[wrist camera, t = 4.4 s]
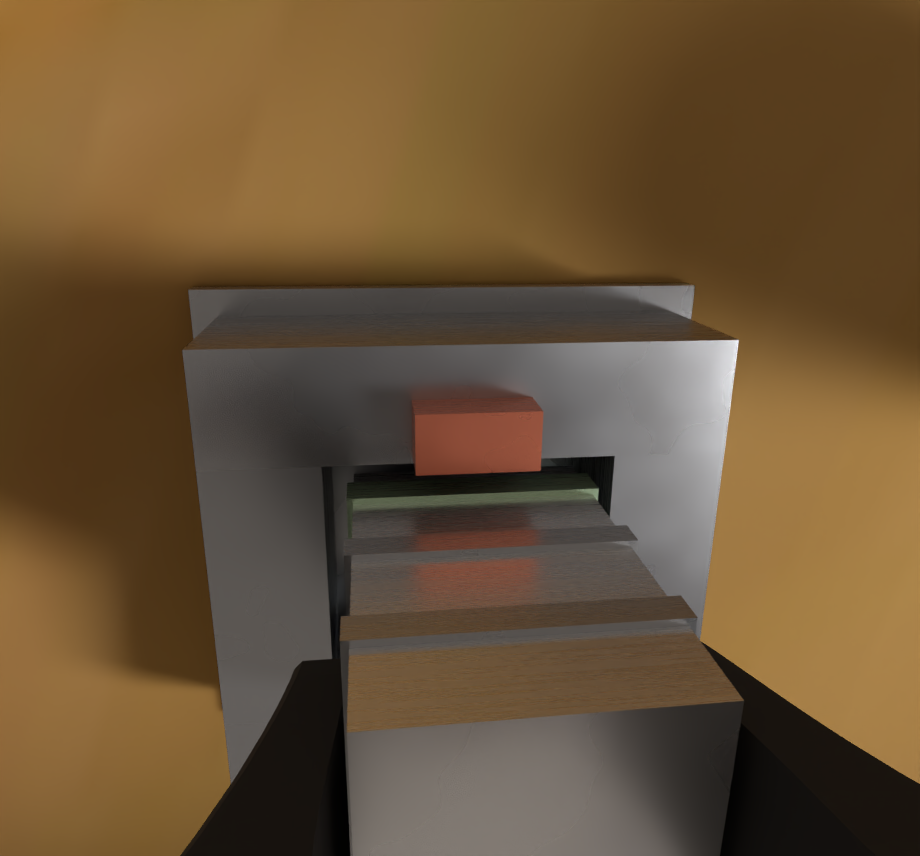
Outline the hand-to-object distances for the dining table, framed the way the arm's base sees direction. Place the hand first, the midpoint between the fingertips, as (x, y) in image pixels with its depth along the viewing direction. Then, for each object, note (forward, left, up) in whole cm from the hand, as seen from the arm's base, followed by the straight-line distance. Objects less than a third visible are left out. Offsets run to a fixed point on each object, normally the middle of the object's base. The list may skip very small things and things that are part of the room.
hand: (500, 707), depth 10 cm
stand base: (0, 0, -6) cm, 6 cm away
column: (0, 0, -4) cm, 4 cm away
